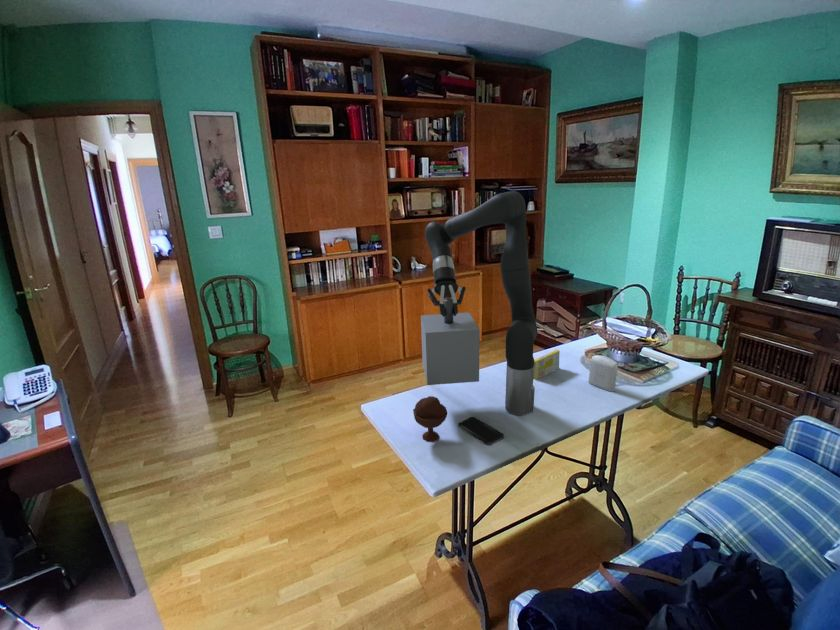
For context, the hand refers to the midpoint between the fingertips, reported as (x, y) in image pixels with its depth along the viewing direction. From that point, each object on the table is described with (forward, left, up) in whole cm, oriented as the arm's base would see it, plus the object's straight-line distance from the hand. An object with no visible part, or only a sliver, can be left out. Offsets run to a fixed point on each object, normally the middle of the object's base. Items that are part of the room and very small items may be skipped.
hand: (449, 315), depth 146 cm
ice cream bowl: (+9, +16, -36) cm, 40 cm away
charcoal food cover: (0, -2, -22) cm, 22 cm away
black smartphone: (-8, +15, -36) cm, 40 cm away
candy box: (-44, -23, -36) cm, 61 cm away
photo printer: (-61, -9, -36) cm, 71 cm away
